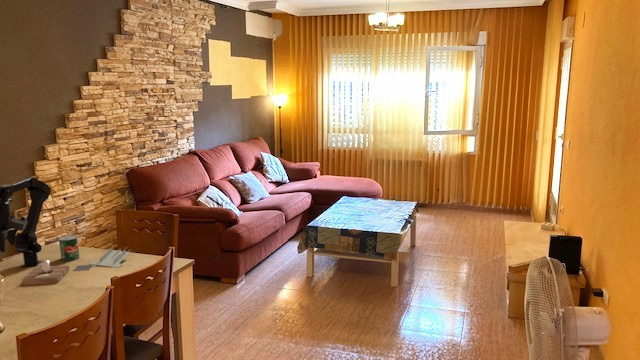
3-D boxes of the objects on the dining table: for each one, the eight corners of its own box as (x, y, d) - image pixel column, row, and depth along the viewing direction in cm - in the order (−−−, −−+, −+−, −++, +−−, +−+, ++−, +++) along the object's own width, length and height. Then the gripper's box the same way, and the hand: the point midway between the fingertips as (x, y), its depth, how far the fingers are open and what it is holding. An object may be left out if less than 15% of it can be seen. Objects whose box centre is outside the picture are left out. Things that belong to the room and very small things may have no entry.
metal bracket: (106, 245, 244) (134, 248, 241) (109, 255, 247) (136, 258, 243) (87, 262, 232) (116, 266, 228) (90, 272, 234) (119, 276, 231)
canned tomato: (68, 256, 248) (66, 234, 246) (83, 257, 246) (80, 235, 244) (57, 261, 240) (54, 239, 238) (72, 262, 239) (69, 240, 237)
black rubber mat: (77, 266, 234) (77, 265, 234) (93, 265, 235) (93, 264, 235) (72, 272, 227) (72, 271, 227) (89, 271, 228) (88, 270, 228)
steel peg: (44, 277, 221) (42, 260, 220) (52, 276, 222) (50, 259, 220) (41, 280, 218) (39, 262, 217) (49, 279, 219) (47, 262, 217)
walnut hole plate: (36, 273, 226) (35, 266, 225) (69, 271, 228) (68, 264, 227) (23, 286, 212) (22, 278, 211) (58, 283, 214) (57, 276, 213)
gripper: (14, 218, 212) (19, 254, 215) (31, 208, 230) (35, 241, 233) (-15, 220, 210) (-10, 256, 213) (4, 209, 228) (9, 242, 231)
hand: (7, 248), depth 223 cm, fingers open, 9 cm apart
